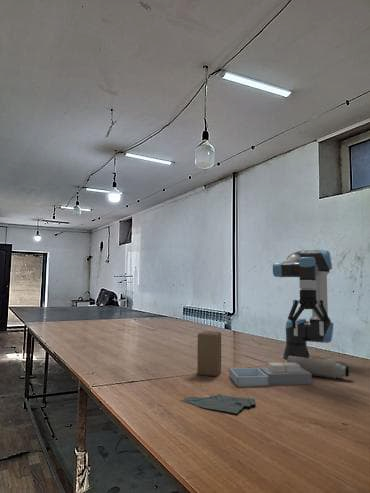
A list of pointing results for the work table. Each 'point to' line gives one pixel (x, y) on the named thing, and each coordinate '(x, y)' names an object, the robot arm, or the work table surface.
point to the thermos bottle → (321, 367)
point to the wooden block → (209, 353)
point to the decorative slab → (222, 403)
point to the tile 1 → (276, 367)
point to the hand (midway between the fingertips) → (308, 335)
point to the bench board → (288, 377)
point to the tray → (248, 377)
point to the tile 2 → (292, 367)
